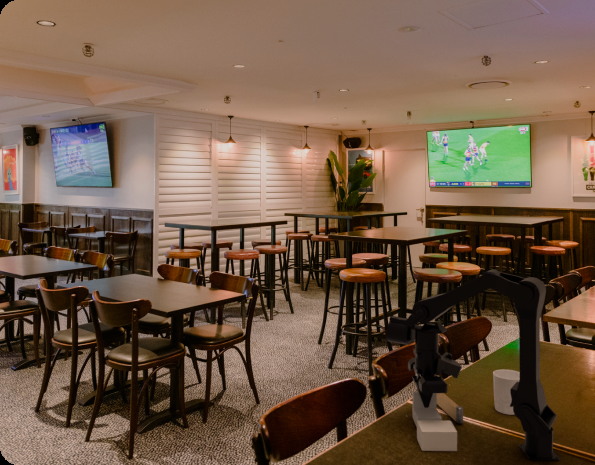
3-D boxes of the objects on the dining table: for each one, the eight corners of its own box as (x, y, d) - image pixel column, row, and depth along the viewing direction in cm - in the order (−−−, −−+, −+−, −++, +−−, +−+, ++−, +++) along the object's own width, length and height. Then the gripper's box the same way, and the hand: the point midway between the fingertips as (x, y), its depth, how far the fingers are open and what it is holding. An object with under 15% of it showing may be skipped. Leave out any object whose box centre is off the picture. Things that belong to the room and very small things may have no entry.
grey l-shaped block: (441, 429, 127) (442, 402, 127) (417, 429, 128) (417, 402, 127) (435, 417, 134) (435, 391, 134) (412, 417, 135) (412, 391, 134)
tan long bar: (464, 423, 131) (464, 408, 130) (457, 424, 130) (457, 409, 130) (434, 396, 148) (435, 383, 148) (429, 397, 148) (429, 384, 148)
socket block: (457, 451, 117) (457, 432, 117) (421, 450, 118) (422, 431, 117) (450, 438, 123) (450, 420, 123) (416, 438, 124) (416, 420, 123)
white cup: (498, 401, 145) (498, 367, 144) (527, 408, 140) (528, 373, 139) (488, 411, 139) (488, 375, 138) (518, 418, 134) (519, 381, 133)
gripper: (469, 359, 121) (468, 423, 122) (448, 337, 139) (448, 393, 140) (422, 359, 121) (421, 423, 122) (407, 337, 140) (407, 393, 141)
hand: (426, 407), depth 131 cm, fingers closed
